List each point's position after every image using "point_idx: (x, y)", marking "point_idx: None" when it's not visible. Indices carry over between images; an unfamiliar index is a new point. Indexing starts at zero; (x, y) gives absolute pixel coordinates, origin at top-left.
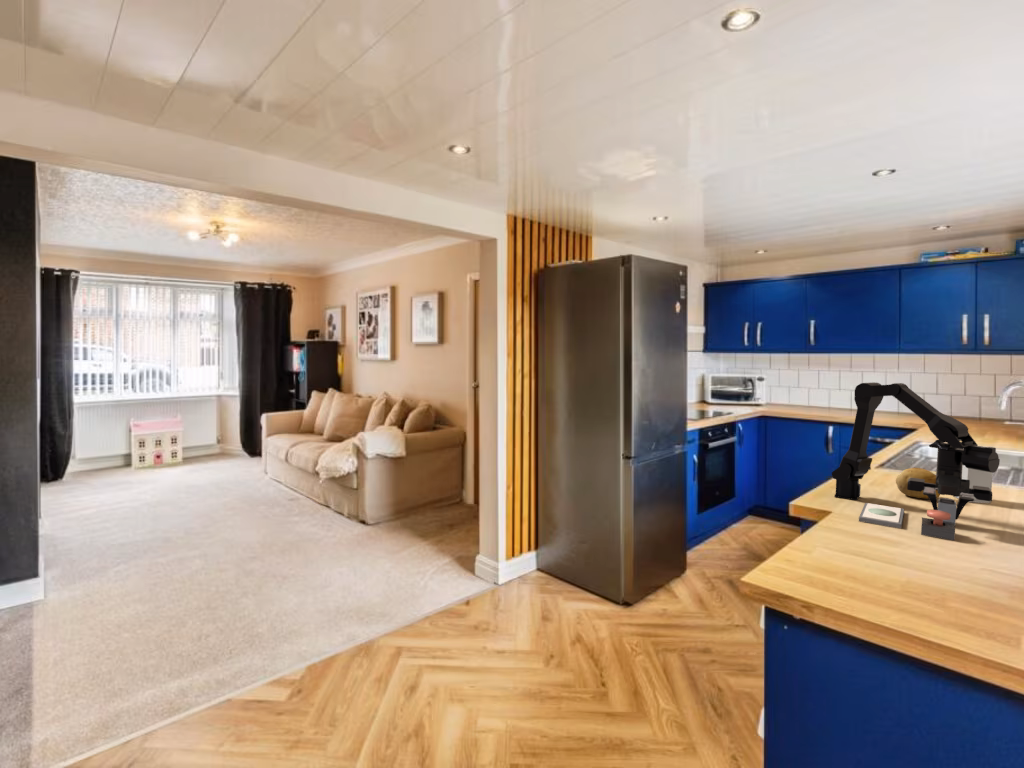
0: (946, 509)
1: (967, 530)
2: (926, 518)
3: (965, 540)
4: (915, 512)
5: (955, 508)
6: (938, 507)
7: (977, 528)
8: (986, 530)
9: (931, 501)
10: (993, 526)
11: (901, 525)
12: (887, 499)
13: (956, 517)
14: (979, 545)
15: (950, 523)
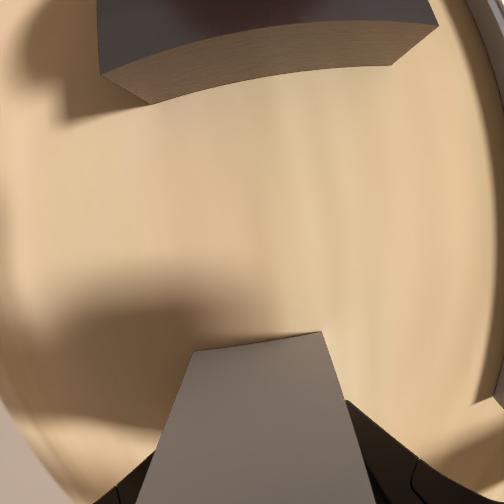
0: (255, 457)
1: (103, 300)
2: (394, 6)
3: (78, 11)
4: (435, 452)
5: (150, 482)
6: (355, 450)
7: (94, 395)
8: (56, 382)
9: (455, 489)
10: (84, 463)
11: (478, 19)
12: (488, 494)
13: None
14: (28, 4)
15: (133, 3)
